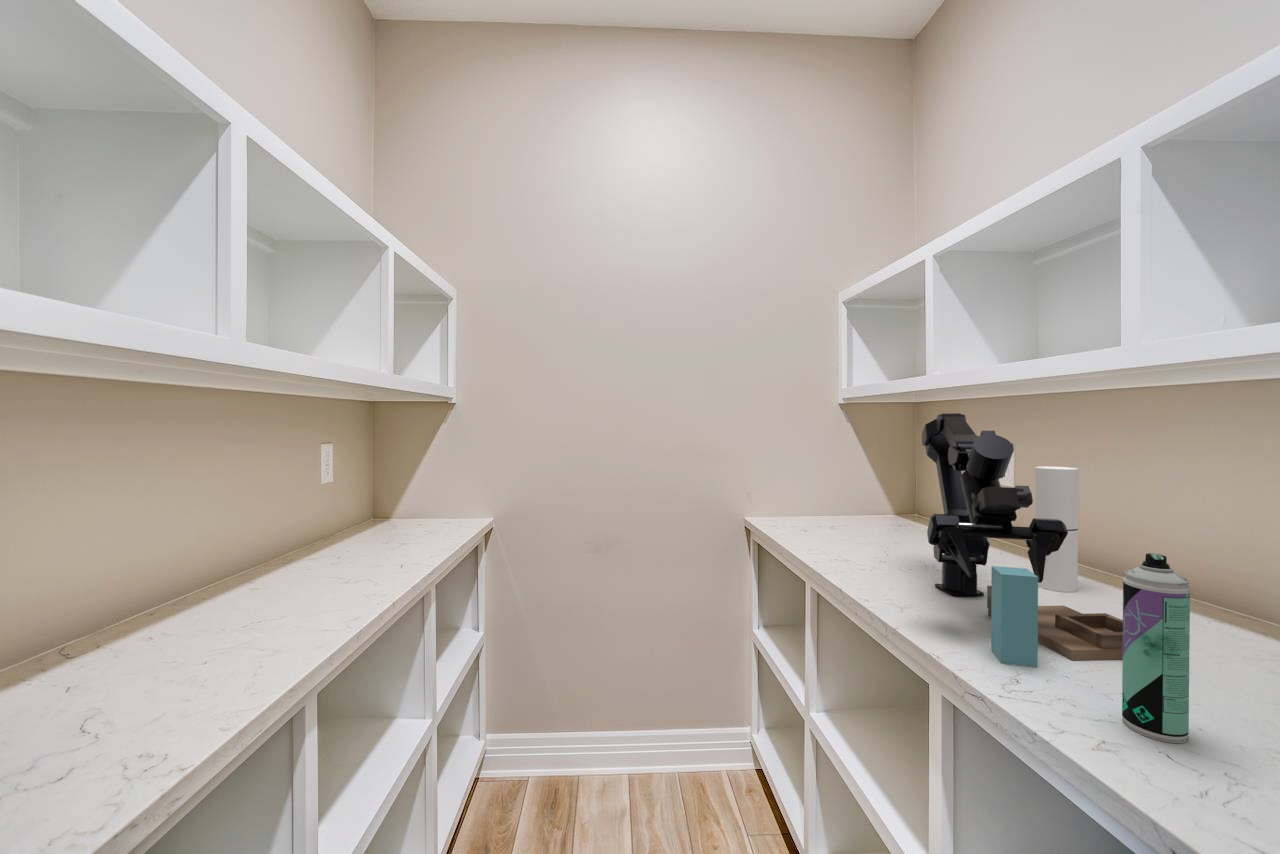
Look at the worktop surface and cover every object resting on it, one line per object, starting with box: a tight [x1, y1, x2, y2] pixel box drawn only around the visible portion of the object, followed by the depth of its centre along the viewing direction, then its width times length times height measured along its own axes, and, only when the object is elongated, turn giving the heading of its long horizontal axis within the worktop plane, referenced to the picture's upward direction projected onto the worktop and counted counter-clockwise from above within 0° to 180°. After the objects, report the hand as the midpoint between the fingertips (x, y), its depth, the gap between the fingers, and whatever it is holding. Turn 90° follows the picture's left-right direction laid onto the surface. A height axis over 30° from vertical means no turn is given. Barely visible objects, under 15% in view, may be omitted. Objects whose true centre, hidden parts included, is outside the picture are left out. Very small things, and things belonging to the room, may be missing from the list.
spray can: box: [1121, 552, 1191, 744], centre depth 61 cm, size 6×6×20 cm
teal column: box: [990, 565, 1039, 668], centre depth 79 cm, size 4×4×13 cm
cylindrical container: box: [1034, 465, 1079, 593], centre depth 112 cm, size 7×7×25 cm
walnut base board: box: [986, 585, 1123, 661], centre depth 87 cm, size 18×14×6 cm
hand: (1005, 578), depth 82 cm, fingers open, 9 cm apart
